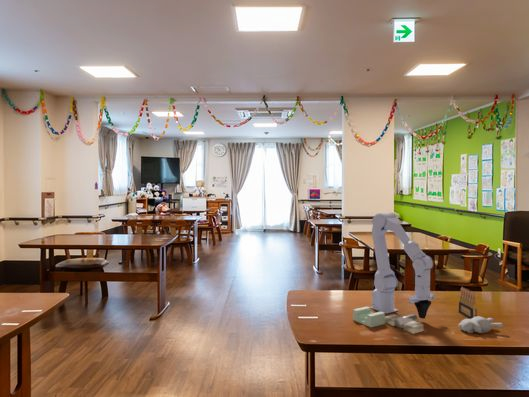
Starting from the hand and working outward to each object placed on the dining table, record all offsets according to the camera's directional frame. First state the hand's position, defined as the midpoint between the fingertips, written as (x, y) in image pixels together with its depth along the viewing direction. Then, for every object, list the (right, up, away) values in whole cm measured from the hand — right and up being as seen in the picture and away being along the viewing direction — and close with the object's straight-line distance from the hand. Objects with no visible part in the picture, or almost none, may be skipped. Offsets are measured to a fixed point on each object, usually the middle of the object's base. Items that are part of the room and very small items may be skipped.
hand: (422, 317), depth 162 cm
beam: (-10, -2, -6) cm, 12 cm away
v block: (-22, -2, -1) cm, 22 cm away
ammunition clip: (+22, -2, +7) cm, 23 cm away
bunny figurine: (+18, -2, -10) cm, 21 cm away
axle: (-8, -2, -5) cm, 10 cm away
